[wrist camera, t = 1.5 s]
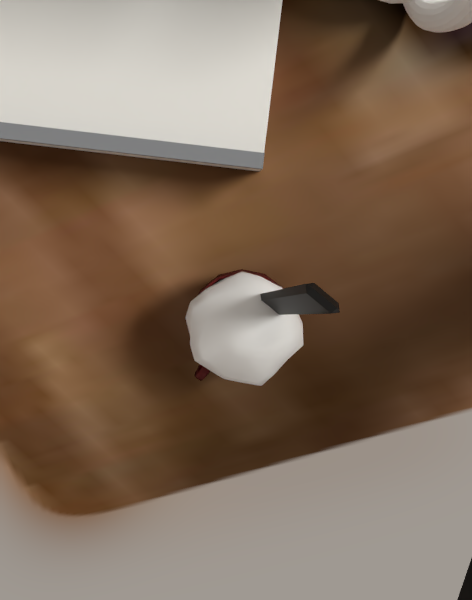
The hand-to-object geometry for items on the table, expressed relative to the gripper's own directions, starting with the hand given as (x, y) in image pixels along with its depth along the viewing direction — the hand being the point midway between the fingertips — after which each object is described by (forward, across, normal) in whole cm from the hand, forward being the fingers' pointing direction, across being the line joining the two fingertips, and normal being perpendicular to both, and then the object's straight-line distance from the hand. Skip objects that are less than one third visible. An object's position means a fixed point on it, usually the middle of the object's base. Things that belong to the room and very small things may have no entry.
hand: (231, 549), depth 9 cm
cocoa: (+22, -1, +1) cm, 22 cm away
